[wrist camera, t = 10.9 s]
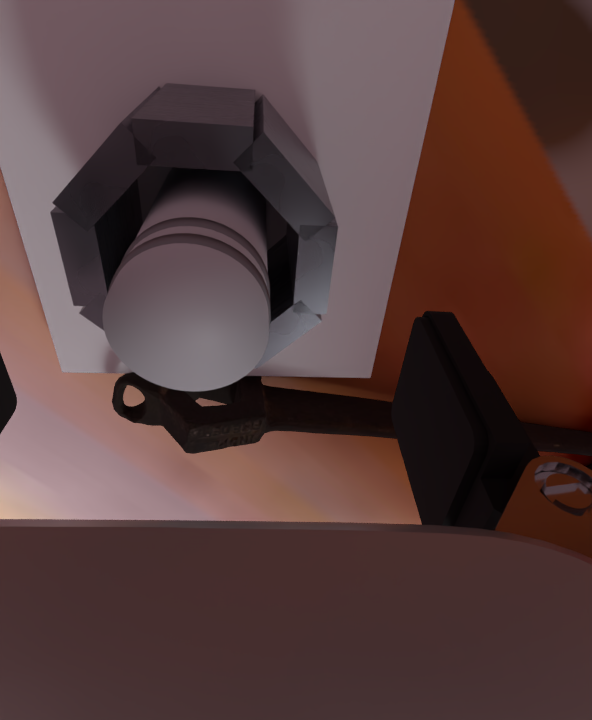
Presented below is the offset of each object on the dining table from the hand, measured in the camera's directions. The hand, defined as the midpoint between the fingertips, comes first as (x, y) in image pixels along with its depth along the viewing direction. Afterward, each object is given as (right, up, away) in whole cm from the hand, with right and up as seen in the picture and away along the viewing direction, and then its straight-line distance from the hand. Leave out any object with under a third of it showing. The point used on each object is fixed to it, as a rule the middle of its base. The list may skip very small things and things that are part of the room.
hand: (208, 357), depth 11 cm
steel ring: (-1, +5, +6) cm, 8 cm away
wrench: (+8, -4, +16) cm, 18 cm away
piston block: (-1, +6, +7) cm, 10 cm away
